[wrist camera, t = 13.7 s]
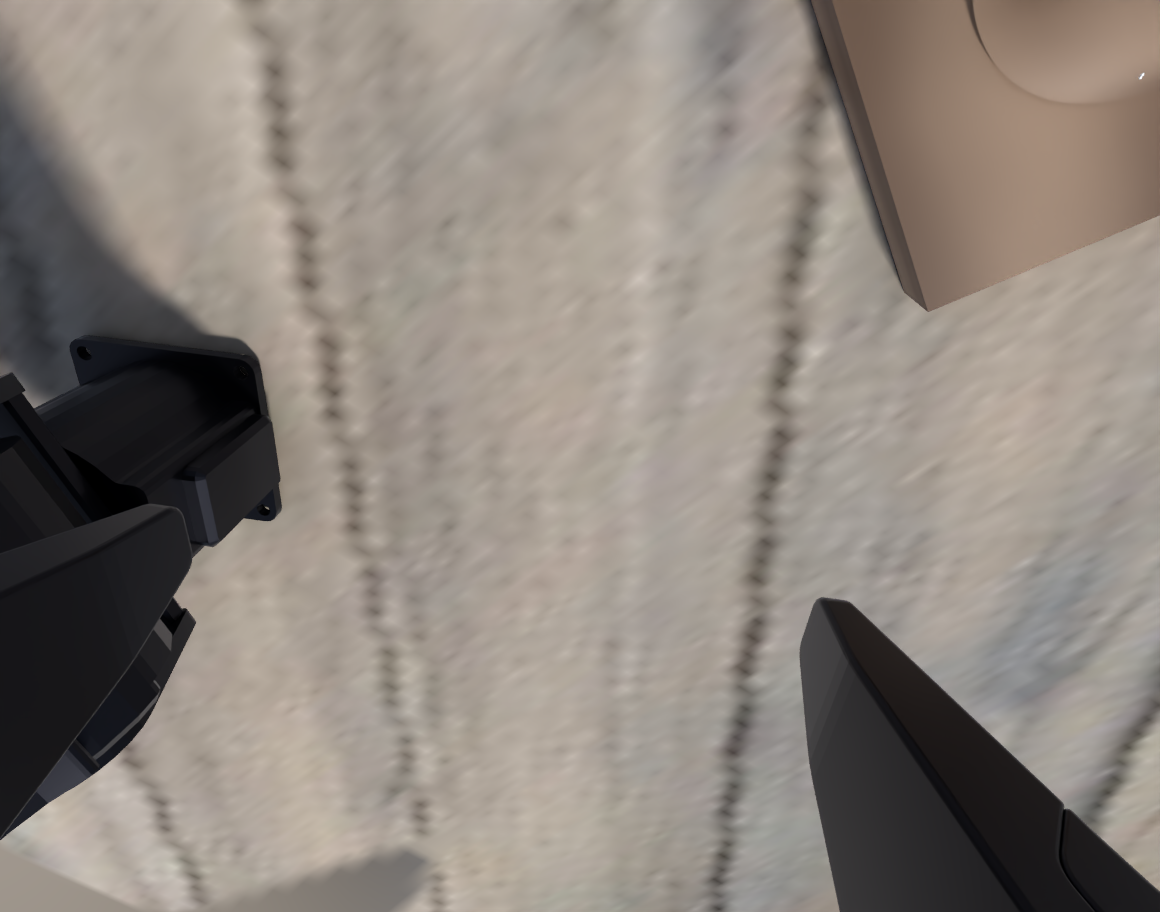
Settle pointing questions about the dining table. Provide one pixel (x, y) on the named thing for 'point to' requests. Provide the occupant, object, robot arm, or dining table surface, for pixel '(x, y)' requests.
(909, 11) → the walnut board
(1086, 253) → the dining table surface
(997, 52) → the beer glass
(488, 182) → the dining table surface
